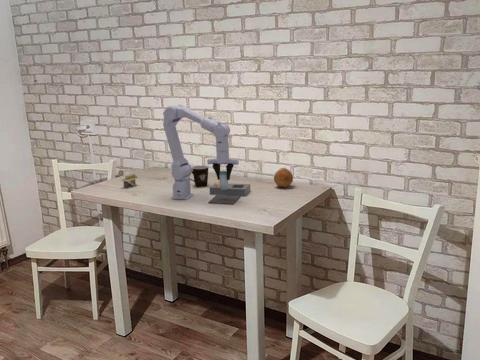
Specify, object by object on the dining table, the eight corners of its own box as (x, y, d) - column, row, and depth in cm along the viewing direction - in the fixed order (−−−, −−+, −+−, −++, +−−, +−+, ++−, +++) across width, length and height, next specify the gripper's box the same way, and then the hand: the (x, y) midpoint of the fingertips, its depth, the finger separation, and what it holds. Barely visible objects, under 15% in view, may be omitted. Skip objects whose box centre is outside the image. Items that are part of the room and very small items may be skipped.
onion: (270, 186, 237) (270, 167, 235) (287, 183, 241) (287, 165, 238) (278, 190, 229) (278, 171, 226) (296, 188, 232) (296, 168, 230)
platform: (151, 185, 249) (150, 173, 247) (125, 193, 235) (123, 180, 233) (136, 182, 256) (135, 171, 254) (110, 189, 242) (109, 177, 240)
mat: (233, 204, 207) (233, 203, 207) (208, 203, 211) (208, 202, 210) (240, 197, 219) (240, 196, 218) (216, 196, 222) (216, 195, 222)
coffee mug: (210, 183, 246) (209, 165, 244) (207, 187, 238) (207, 169, 236) (189, 183, 248) (188, 165, 245) (186, 187, 239) (184, 169, 237)
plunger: (222, 192, 226) (222, 184, 225) (215, 191, 227) (215, 184, 226) (224, 190, 229) (224, 182, 228) (218, 190, 230) (217, 182, 229)
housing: (245, 196, 220) (245, 189, 219) (209, 194, 225) (208, 187, 224) (250, 190, 229) (250, 184, 228) (215, 189, 234) (215, 182, 233)
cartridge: (226, 189, 211) (226, 173, 209) (218, 189, 212) (217, 172, 210) (229, 187, 215) (228, 171, 213) (221, 187, 216) (220, 170, 214)
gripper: (240, 149, 211) (241, 177, 214) (210, 148, 215) (211, 176, 218) (235, 152, 204) (237, 181, 207) (205, 151, 208) (206, 180, 211)
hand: (223, 179), depth 212 cm, fingers closed on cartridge, 4 cm apart
